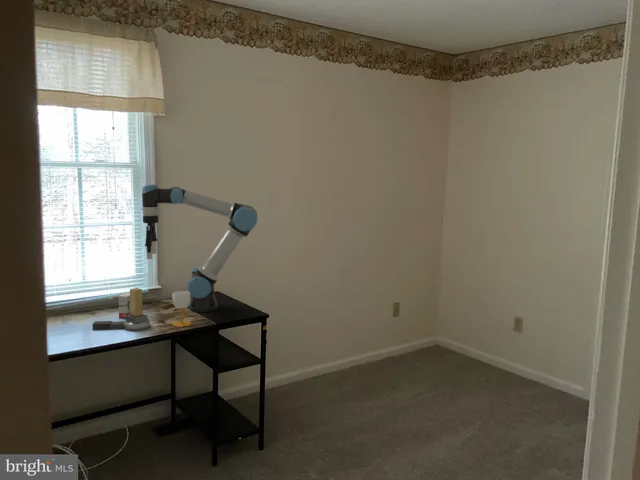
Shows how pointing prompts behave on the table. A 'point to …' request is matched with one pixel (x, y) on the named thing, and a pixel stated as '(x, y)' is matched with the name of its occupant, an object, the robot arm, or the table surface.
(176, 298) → the cup
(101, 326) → the ratchet
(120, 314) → the ink box
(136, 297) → the gold square rod
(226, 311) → the table surface
